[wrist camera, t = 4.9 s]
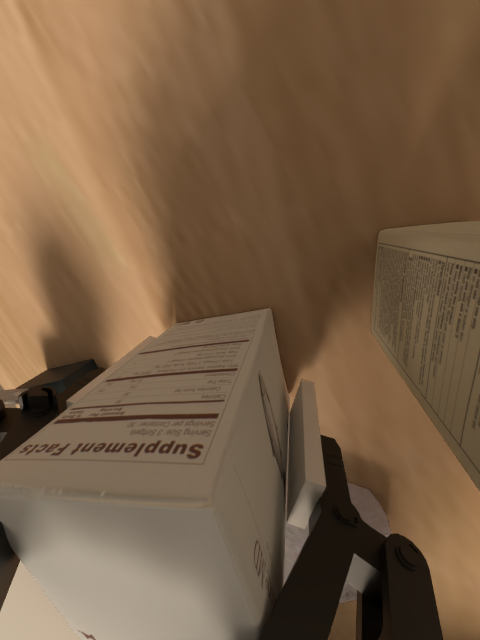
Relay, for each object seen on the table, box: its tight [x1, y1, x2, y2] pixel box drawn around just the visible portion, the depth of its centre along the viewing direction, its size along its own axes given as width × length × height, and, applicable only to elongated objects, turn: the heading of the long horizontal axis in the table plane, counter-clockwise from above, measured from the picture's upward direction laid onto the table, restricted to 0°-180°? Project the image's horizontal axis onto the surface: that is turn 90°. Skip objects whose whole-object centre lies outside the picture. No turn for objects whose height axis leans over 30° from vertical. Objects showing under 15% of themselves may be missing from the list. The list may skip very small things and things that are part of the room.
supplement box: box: [0, 308, 290, 640], centre depth 12 cm, size 7×7×13 cm
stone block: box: [284, 475, 391, 603], centre depth 21 cm, size 12×5×10 cm
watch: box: [0, 359, 98, 404], centre depth 17 cm, size 6×8×11 cm
